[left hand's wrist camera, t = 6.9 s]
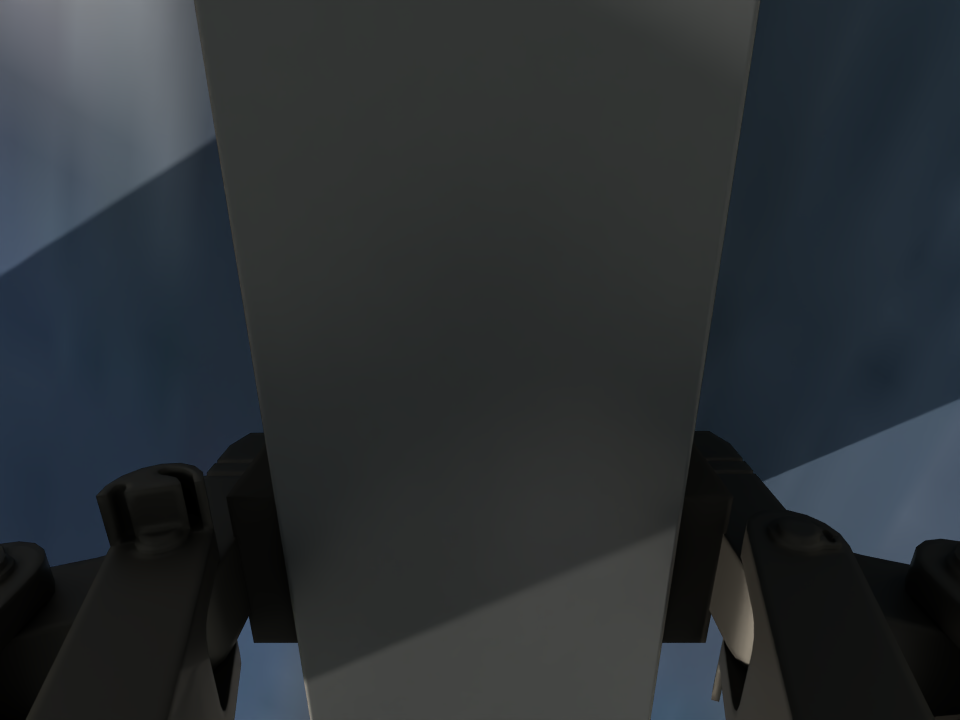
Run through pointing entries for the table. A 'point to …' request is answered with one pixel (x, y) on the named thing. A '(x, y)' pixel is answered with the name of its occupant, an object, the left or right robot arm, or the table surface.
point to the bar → (478, 329)
